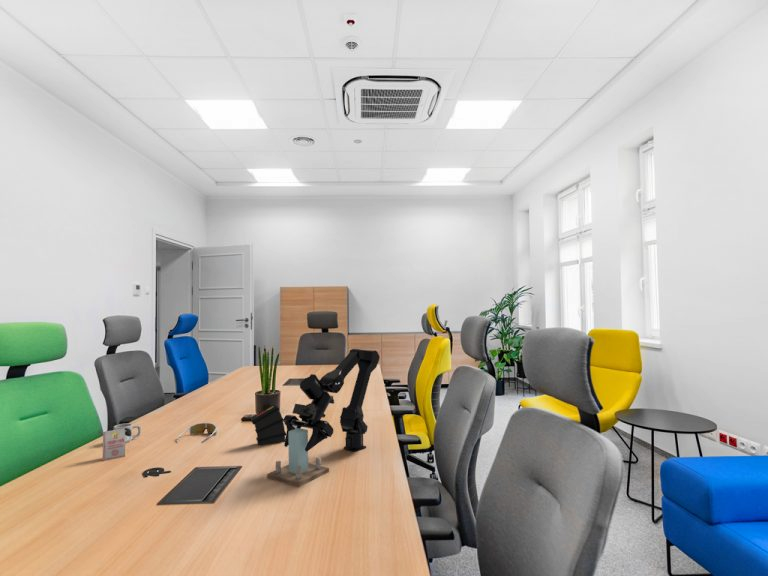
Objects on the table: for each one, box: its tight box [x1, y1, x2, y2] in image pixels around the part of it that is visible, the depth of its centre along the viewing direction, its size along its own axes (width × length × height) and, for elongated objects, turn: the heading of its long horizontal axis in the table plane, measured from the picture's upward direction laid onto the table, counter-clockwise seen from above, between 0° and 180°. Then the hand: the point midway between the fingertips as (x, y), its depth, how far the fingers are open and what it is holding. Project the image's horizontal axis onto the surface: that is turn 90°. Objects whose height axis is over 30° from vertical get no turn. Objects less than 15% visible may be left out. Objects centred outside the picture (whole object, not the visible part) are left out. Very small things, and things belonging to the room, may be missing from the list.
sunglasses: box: [176, 421, 218, 444], centre depth 181 cm, size 14×15×5 cm
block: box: [288, 427, 309, 474], centre depth 139 cm, size 4×4×13 cm
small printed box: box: [102, 428, 126, 461], centre depth 159 cm, size 4×7×10 cm, turn 128°
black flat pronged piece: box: [142, 466, 172, 478], centre depth 142 cm, size 9×8×1 cm
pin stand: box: [266, 457, 330, 488], centre depth 139 cm, size 14×14×5 cm
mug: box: [113, 423, 142, 444], centre depth 179 cm, size 10×7×7 cm
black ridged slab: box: [250, 403, 287, 446], centre depth 173 cm, size 4×13×15 cm, turn 114°
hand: (295, 448), depth 138 cm, fingers open, 9 cm apart
